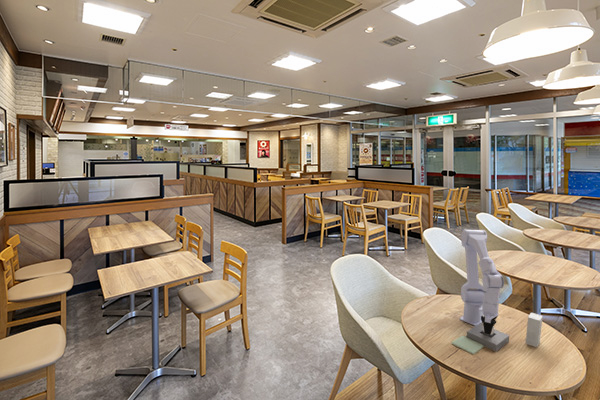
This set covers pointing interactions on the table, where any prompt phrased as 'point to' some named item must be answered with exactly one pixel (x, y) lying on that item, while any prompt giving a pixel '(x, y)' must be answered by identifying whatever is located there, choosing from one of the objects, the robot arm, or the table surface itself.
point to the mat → (467, 344)
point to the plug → (488, 334)
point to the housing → (488, 338)
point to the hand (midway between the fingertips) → (488, 331)
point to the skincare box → (534, 329)
